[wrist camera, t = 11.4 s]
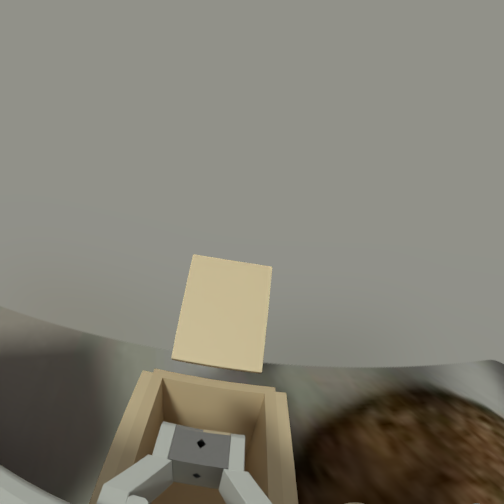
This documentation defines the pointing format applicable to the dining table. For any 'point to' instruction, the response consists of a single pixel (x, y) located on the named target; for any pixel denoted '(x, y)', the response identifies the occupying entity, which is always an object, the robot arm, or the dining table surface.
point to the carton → (209, 418)
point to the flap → (224, 315)
